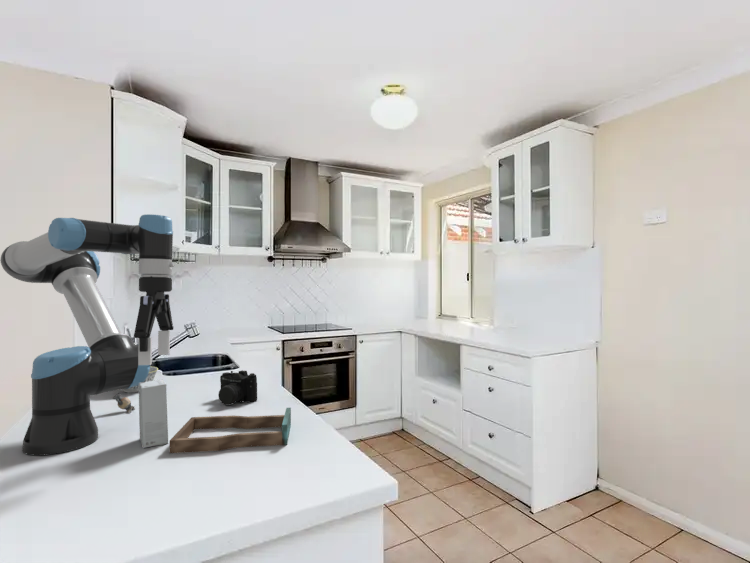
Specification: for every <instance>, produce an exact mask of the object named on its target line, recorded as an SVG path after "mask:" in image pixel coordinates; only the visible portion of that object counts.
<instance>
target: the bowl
mask: <svg viewBox="0 0 750 563" xmlns="http://www.w3.org/2000/svg"><path fill="white" fill-rule="evenodd" d="M158 370H159V368H158V367H157V366H152V365H150V370H149V374H148V376H147V378H146V380H145V381H144V382H147V381H154V379H155V377H156V374H157V372H158ZM122 392H124V393H137V392H138V393H139V385H138V386H134V387H130V388H129V389H122Z"/></svg>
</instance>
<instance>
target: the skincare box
mask: <svg viewBox="0 0 750 563" xmlns="http://www.w3.org/2000/svg"><path fill="white" fill-rule="evenodd" d="M167 395H168V394H167V383H166V382H165V381H164V380H163V379H155V380H154V379H153V381H147V382H141V383H139V391H138V416H139V418H138V419H139V420H138V422H139V423H138V424H139V440H140V443H141V446H142V448H143V449H144V448H149V447H154V446H155V447H156V446H162V445H167V444H169V430H168V429H169V427H168V425H169V424H168V421H169V420H168V400H167V399H168V397H167Z"/></svg>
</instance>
